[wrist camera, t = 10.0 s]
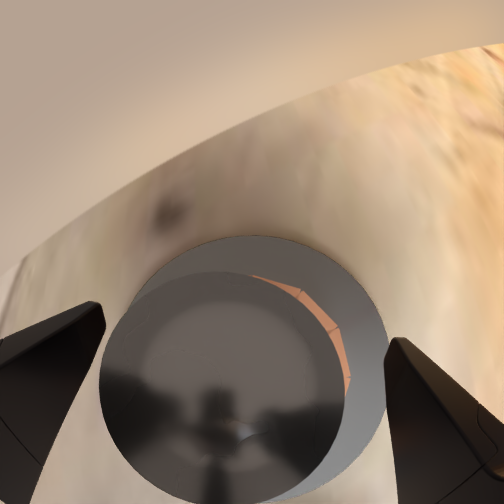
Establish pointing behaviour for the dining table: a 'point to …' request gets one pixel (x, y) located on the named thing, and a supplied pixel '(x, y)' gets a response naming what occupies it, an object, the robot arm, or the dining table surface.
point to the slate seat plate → (329, 315)
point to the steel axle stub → (221, 389)
